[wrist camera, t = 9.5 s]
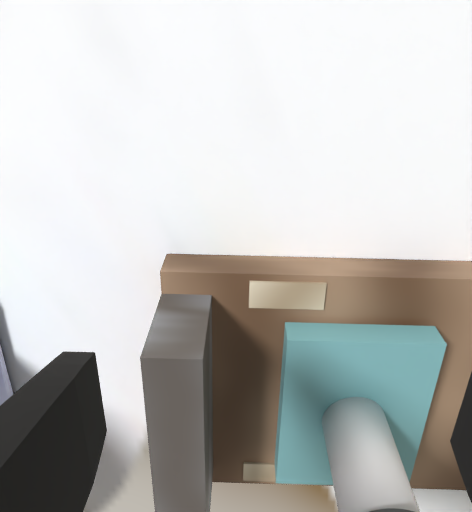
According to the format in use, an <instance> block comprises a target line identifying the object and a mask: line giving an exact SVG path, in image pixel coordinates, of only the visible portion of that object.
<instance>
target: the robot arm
mask: <svg viewBox="0 0 472 512" xmlns="http://www.w3.org/2000/svg"><path fill="white" fill-rule="evenodd" d="M106 432H107V429H106V423H105V416H104V409H103V403H102V396H101V390H100V383H99V376H98V370H97V363H96V356H95V353H94V352H62V353H61V354H60V355H59V356H57V357H56V358H55V359H54V360H53V361H51V362H50V363H49V364H48V365H47V366H46V367H44V368H43V369H42V370H41V371H40V372H39V373H38V374H36V375H35V376H34V377H33V378H32V379H31V380H29V381H28V382H27V383H26V384H25V385H24V386H23V387H21V388H20V389H19V390H18V391H17V392H16V393H14V394H13V391H12V388H11V384H10V380H9V376H8V372H7V369H6V365H5V361H4V357H3V353H2V349H1V346H0V512H83V510H84V507H85V505H86V502H87V499H88V497H89V494H90V491H91V488H92V486H93V483H94V479H95V475H96V472H97V468H98V464H99V460H100V456H101V452H102V448H103V444H104V440H105V436H106ZM450 443H451V446H452V449H453V452H454V455H455V459H456V462H457V465H458V468H459V471H460V474H461V476H462V479H463V482H464V485H465V487H466V490H467V493H468V496H469V498H470V500H471V502H472V372H471V375H470V378H469V381H468V385H467V388H466V391H465V394H464V397H463V401H462V404H461V407H460V410H459V414H458V417H457V420H456V423H455V426H454V430H453V433H452V436H451V439H450Z"/></svg>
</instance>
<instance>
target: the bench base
mask: <svg viewBox="0 0 472 512" xmlns="http://www.w3.org/2000/svg"><path fill="white" fill-rule="evenodd" d="M160 276H161V291H162V294H161V297H160V300H159V303H158V306H157V309H156V312H155V315H154V318H153V321H152V324H151V327H150V330H149V333H148V336H147V339H146V342H145V345H144V348H143V351H142V354H141V357H140V360H141V370H142V381H143V391H144V401H145V412H146V422H147V432H148V443H149V453H150V463H151V474H152V484H153V494H154V504H155V512H210V502H211V490H212V482H231V483H263V484H279V483H276V477H275V448H276V434H277V421H278V408H279V395H280V382H281V368H282V355H283V342H284V329H285V322H300V323H338V324H375V325H413V326H435V327H436V328H437V330H438V331H439V333H440V335H441V336H442V338H443V339H444V341H445V342H446V344H447V346H446V350H445V353H444V357H443V361H442V364H441V368H440V372H439V375H438V379H437V383H436V386H435V390H434V394H433V397H432V401H431V405H430V409H429V412H428V416H427V420H426V423H425V427H424V431H423V434H422V438H421V442H420V445H419V449H418V453H417V457H416V460H415V464H414V468H413V471H412V475H411V479H410V482H409V483H410V486H411V488H421V489H452V490H466V487H465V485H464V482H463V479H462V476H461V474H460V471H459V468H458V465H457V462H456V459H455V455H454V452H453V449H452V446H451V443H450V439H451V436H452V433H453V430H454V426H455V423H456V420H457V417H458V414H459V410H460V407H461V404H462V401H463V397H464V394H465V391H466V388H467V385H468V381H469V378H470V375H471V372H472V261H440V260H399V259H358V258H317V257H276V256H235V255H194V254H167V255H166V257H165V260H164V263H163V265H162V268H161V271H160ZM295 485H296V484H295ZM297 485H310V484H297ZM326 486H334V485H326Z"/></svg>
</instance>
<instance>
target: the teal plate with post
mask: <svg viewBox="0 0 472 512" xmlns="http://www.w3.org/2000/svg"><path fill="white" fill-rule="evenodd" d="M446 346H447V344H446V342H445V341H444V339H443V338H442V336H441V335H440V333H439V331H438V330H437V328H436V327H435V326H413V325H375V324H338V323H300V322H285V329H284V342H283V355H282V368H281V382H280V395H279V408H278V421H277V434H276V448H275V477H276V483H279V484H310V485H334V490H335V496H336V501H337V506H338V511H339V512H420V511H419V508H418V505H417V502H416V500H415V497H414V494H413V491H412V488H411V486H410V483H409V482H410V479H411V475H412V471H413V468H414V464H415V460H416V457H417V453H418V449H419V445H420V442H421V438H422V434H423V431H424V427H425V423H426V420H427V416H428V412H429V409H430V405H431V401H432V397H433V394H434V390H435V386H436V383H437V379H438V375H439V372H440V368H441V364H442V361H443V357H444V353H445V350H446Z"/></svg>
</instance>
